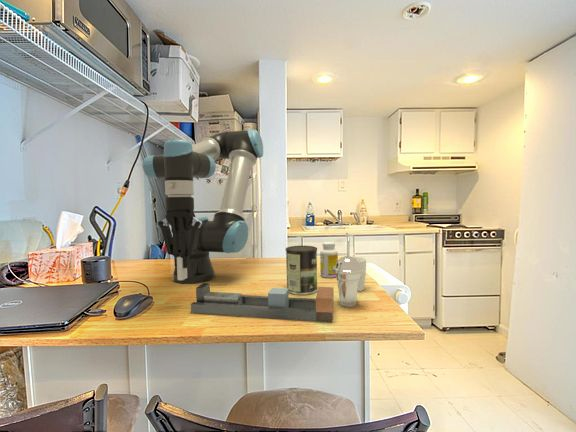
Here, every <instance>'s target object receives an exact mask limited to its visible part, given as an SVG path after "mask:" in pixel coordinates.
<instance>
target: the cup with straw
mask: <svg viewBox="0 0 576 432" xmlns="http://www.w3.org/2000/svg"><path fill="white" fill-rule="evenodd" d="M345 236H346V255H345V256H341V258H338V261H337V263H336V266H334V267H333V271H334V272H336V277H335V278H336V282H337V289H338V290H337V292H338V297H339V299H338V300H339V305H341V306H343V307H346V308H347V307H351V308H352V307H355V306H356V305H357V298H358V292H359V291H358V282H359V278H360V273H362V272H363V268H362V267H360V264H359V262H358V261H357V260H356V259H355V258H353V257H354V256H351V255H350V251H351V250H350V240H351V239H350V236H349V233H348V232H345Z"/></svg>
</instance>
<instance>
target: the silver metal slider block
mask: <svg viewBox="0 0 576 432" xmlns="http://www.w3.org/2000/svg"><path fill="white" fill-rule="evenodd" d="M242 295H243V293H240V292H239V293H238V292H219V291H218V292H217V291H211V283H210V282H208V283H207V282H202V283H200V285H198V286H197V287H195V296H196V297H195V298H196V301H195V302H201V303H217V304H234V305H243V301H242Z"/></svg>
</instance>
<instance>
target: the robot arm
mask: <svg viewBox="0 0 576 432" xmlns="http://www.w3.org/2000/svg"><path fill="white" fill-rule="evenodd" d="M263 156H264V144H263V140H262V136H261V134H260V132H259V131H258V130H256V129H247V130H235V131H233V130H232V131H231V130H230V131H222V132H219V133H216V134H213V135H210V136H207V137H205V138H204V137H203V139H201V140H200V142H197V143H194V144H192V142H191V141H189V140H185V139H167V140H165V142H164V144H163V154H153V155H148V156H146V157H145V158H144V159H143V161H142V170H143V172H144V175H145V176H146V177H147V178H149V179H155V180H162V179H163V180H164V191H165V195H166V196H167V197H166V198H164V199H165V211H166V214H165V218H164V219H162V220H159V221H158V222H157V224H158V226H159V228H160V229H161V233H162V236H163V242H164V246H165V249H166V253H167V255H171V256H173V257H174V259H173V260H174V267H175V268H174V270H173V281H174V282H176V283H178V284H196V283H197V284H198V283H205V282H207V281H210V280H212V279H214V278H215V273H216V272H215V269H214V268H215V267H214V265H213V263H212V261H211V258H210V257H211V256H210V253H226V254H231V253H233V254H234V253H239V252H241V251H242V250H243V249H244V248H245V246H246V245H247V241H248V240H249V239H248V237H249V226H248V224H247V223H246V219H245V217H244V216H243V212H244V208H245V207H244V206H245V201H246V195H247V192H248V191H247V190H248V187H249V183H250V182H249V181H250V175H251V171H252V167H253V166H255V165H256V163H257V159H259V158H262V157H263ZM216 160H230V166H229V169H228V174H227V178H226V183H225V187H224V191H223V195H222V198H221V203H220V208H219V210H218V211H217V212H215V213H214V215H213V219H212V220H209V218H208V216H202V217H201V216H200V217H196V214H195V212H194V210H195V198H194V197H192V196H194V194H195V192H194V190H195V189H194V178H195V179H196V178H199V179H208V178H211V177H212V176H213V175H214V174H215V172H216V169H217V167H216V162H215V161H216Z"/></svg>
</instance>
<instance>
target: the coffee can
mask: <svg viewBox="0 0 576 432" xmlns="http://www.w3.org/2000/svg"><path fill="white" fill-rule="evenodd" d="M285 254H286V256H285V257H286V258H285V259H286V288H287V289H288V291H289V294H292V295H297V296H305V295H307V296H308V295H313V294H315V293H317V292H318V259H317V258H318V257H317V255H318V248H317V247H316V246H314V245H313V246H312V245H291V246H287V247H285Z"/></svg>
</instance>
